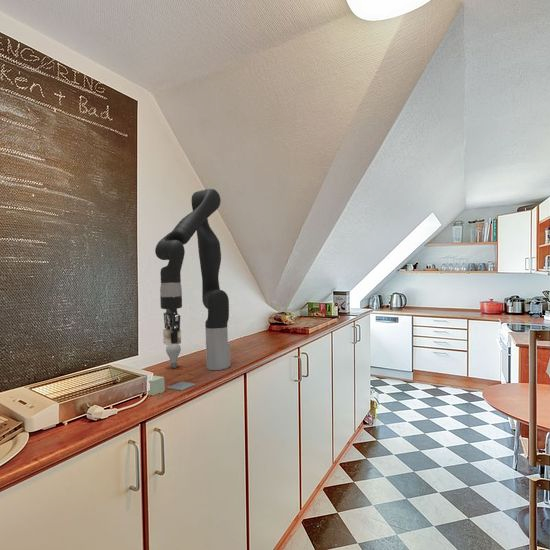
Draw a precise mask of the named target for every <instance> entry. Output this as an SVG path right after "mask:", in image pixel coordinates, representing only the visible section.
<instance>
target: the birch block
mask: <svg viewBox="0 0 550 550" xmlns="http://www.w3.org/2000/svg"><path fill="white" fill-rule="evenodd" d="M162 333H163V334H162V335H163V336H162V338H163V340H162V341H163V344H165V346H168V345H173V344H172V343H171V330H170V329H165V328H164V329H162ZM177 333H178V343H174V344H179V345H180V344H182V334H181V333H182V331H181V329H180V331H178V332H177Z"/></svg>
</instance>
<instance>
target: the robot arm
mask: <svg viewBox="0 0 550 550" xmlns="http://www.w3.org/2000/svg"><path fill="white" fill-rule="evenodd" d="M221 201H222V200H221V196H220V194H219V192H218V191H217V190H216V189H214V188H207V189H202V190H199V191H195V192H193V194H192V196H191V201H190V202H191V207H192V211H191V212H190V213H188V214H186V216H184V217H183V218H181V220H180V221H179V222H178V223H177V224H176V225H175V227H174V228H173V229H172V230H171V231H170V232H169V233H167V234H166V235H164V237H163V238H161V239H160V240H159V241H158V242H157V244H156V245H155V250H154V252H155V255H156V257H157V258H158V259H160V260H162V261H168V263H167V265H166V266H163V267H162V268H161V269H160V287H159V288H160V289H159V291H160V292H159V293H160V294H159V295H160V296H159V297H160V298H159V300H160V303H159V304H160V309H161V310H165V312H163V321H164V329H170V330H171V343H172V344H174V343H178V333H177V332H178V331H180V330H181V315H180V314H179V313H178V309H181V308H182V307H183V294H182V293H183V291H182V289H183V288H182V279H181V278H182V277H181V271H182V267H183V263H184V258H185V247H184V245H186V244H188V242H189V241H190V240H191V238H192V237H193V235H194V234H195V233H196V237H197V249H198V258H199V263H200V264H199V265H200V272H201V280H202V281H201V283H202V284H201V285H202V287H201V288H202V289H201V290H202V295H201V296H202V303H203V306H204V308H205V309H207V319H206V320H205V323H204V324H205V325H204V326H205V354H206V356H205V358H206V369H207V370H210V371H221V370H226V369H228V368H230V366H231V345H230V344H229V339H228V338H229V337H228V336H229V335H228V334H229V333H228V322H229V318H230V301H229V296H228V294H227V292H225V290H222V289H221V286H220V281H219V280H220V279H219V276H220V275H219V273H220V269H221V263H222V251H221V244H220V240H219V238H218V237H217V235H216V234H215V232H214V231H213V229H212V228H211V226H210V224H209V219H208V218H209V217H210V216H211V215H213V213H215V212H216V211H217V210H218V209H219V207H220V206H221ZM231 367H232V366H231Z"/></svg>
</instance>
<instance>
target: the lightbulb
mask: <svg viewBox="0 0 550 550" xmlns="http://www.w3.org/2000/svg"><path fill="white" fill-rule="evenodd" d="M181 350H182V348H181V345H180V344H173V345H166V348H165V353H166V355H167V356H168V358H169V363H170V368H172V369H175V368H176V367H178V359H179V355H180V353H181Z"/></svg>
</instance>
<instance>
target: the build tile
mask: <svg viewBox="0 0 550 550" xmlns="http://www.w3.org/2000/svg"><path fill="white" fill-rule="evenodd" d="M192 386H193V387H195V386H197V383H193V382H189V381H188V382H186V381H179V382H177V383H174V384H171V385H168V386H167V387H166V389H167V390H173V389H175V390H174V391H179V390H181V391H180V392H183V390H184V391H186V390H188V389H191V388H193V387H192ZM190 387H191V388H190ZM187 388H188V389H187ZM185 389H186V390H185Z"/></svg>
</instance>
